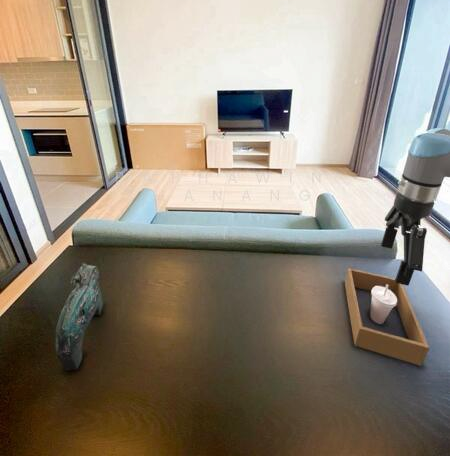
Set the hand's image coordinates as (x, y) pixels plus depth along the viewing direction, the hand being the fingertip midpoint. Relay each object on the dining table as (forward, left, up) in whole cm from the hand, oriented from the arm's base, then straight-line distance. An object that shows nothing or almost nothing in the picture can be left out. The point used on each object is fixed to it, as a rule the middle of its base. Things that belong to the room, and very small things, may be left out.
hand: (393, 263), depth 67 cm
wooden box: (0, 0, -22) cm, 22 cm away
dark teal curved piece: (+80, +31, -22) cm, 89 cm away
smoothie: (0, 0, -22) cm, 22 cm away
